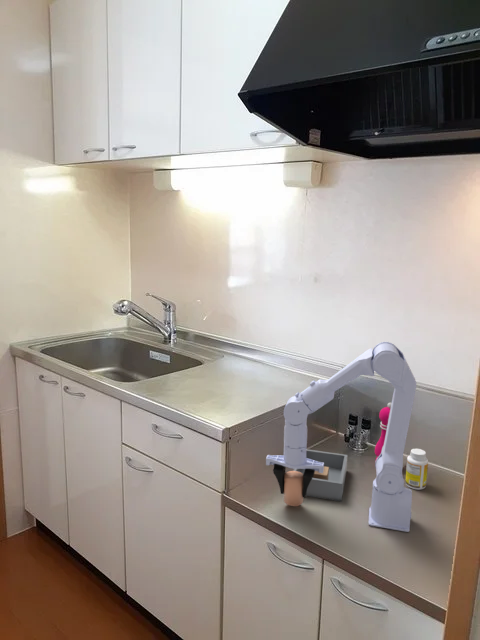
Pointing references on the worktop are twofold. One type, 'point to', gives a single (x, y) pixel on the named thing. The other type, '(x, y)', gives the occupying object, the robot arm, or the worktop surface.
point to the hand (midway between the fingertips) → (293, 493)
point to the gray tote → (335, 478)
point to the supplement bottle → (416, 469)
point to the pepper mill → (384, 422)
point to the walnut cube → (322, 474)
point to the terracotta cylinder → (293, 488)
